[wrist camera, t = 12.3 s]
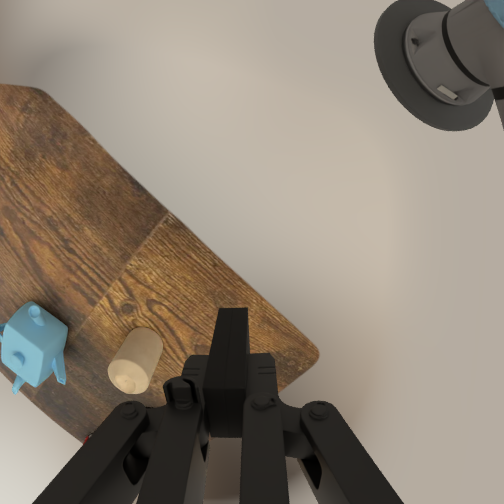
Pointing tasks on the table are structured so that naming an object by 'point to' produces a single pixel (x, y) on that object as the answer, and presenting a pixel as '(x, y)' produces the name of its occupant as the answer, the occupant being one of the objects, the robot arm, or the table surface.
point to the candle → (136, 361)
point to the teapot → (33, 345)
